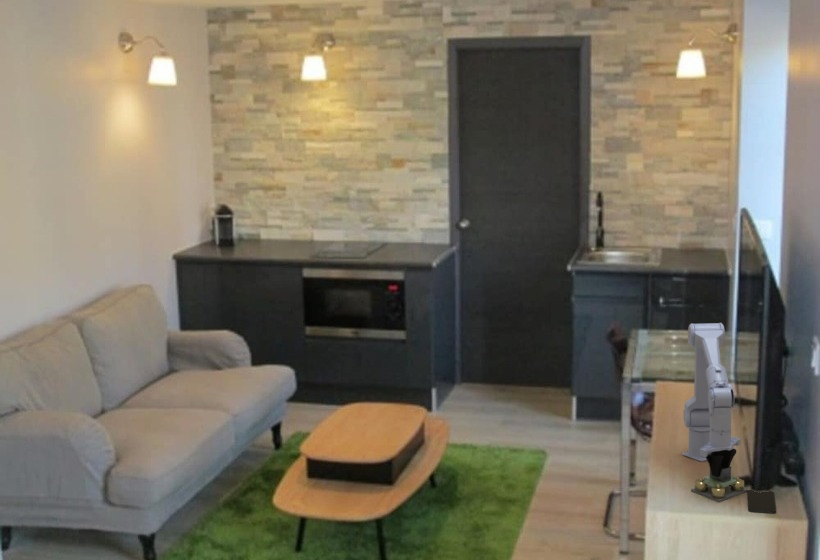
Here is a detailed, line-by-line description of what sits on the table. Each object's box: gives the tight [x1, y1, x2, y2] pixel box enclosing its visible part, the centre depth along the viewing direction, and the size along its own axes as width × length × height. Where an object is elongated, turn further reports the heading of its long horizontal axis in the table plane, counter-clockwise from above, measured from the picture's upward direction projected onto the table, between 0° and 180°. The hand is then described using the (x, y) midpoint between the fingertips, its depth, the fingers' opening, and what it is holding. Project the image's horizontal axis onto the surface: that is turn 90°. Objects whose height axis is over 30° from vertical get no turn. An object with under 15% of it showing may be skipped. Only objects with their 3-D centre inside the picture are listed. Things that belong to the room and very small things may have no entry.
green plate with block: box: [703, 463, 737, 488], centre depth 308 cm, size 9×7×5 cm
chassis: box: [690, 476, 749, 503], centre depth 309 cm, size 12×10×4 cm
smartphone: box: [746, 489, 778, 515], centre depth 301 cm, size 7×1×15 cm
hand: (719, 474), depth 309 cm, fingers closed on green plate with block, 3 cm apart
